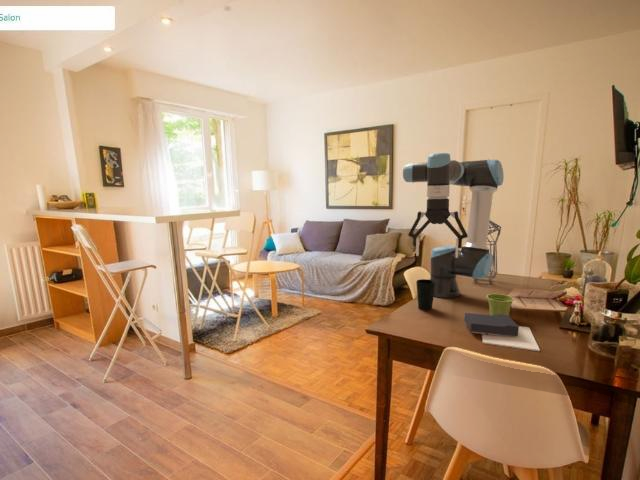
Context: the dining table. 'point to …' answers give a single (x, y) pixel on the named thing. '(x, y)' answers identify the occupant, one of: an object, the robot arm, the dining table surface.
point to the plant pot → (499, 304)
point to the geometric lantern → (493, 251)
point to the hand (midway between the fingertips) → (436, 256)
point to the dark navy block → (491, 324)
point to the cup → (425, 294)
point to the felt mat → (513, 340)
